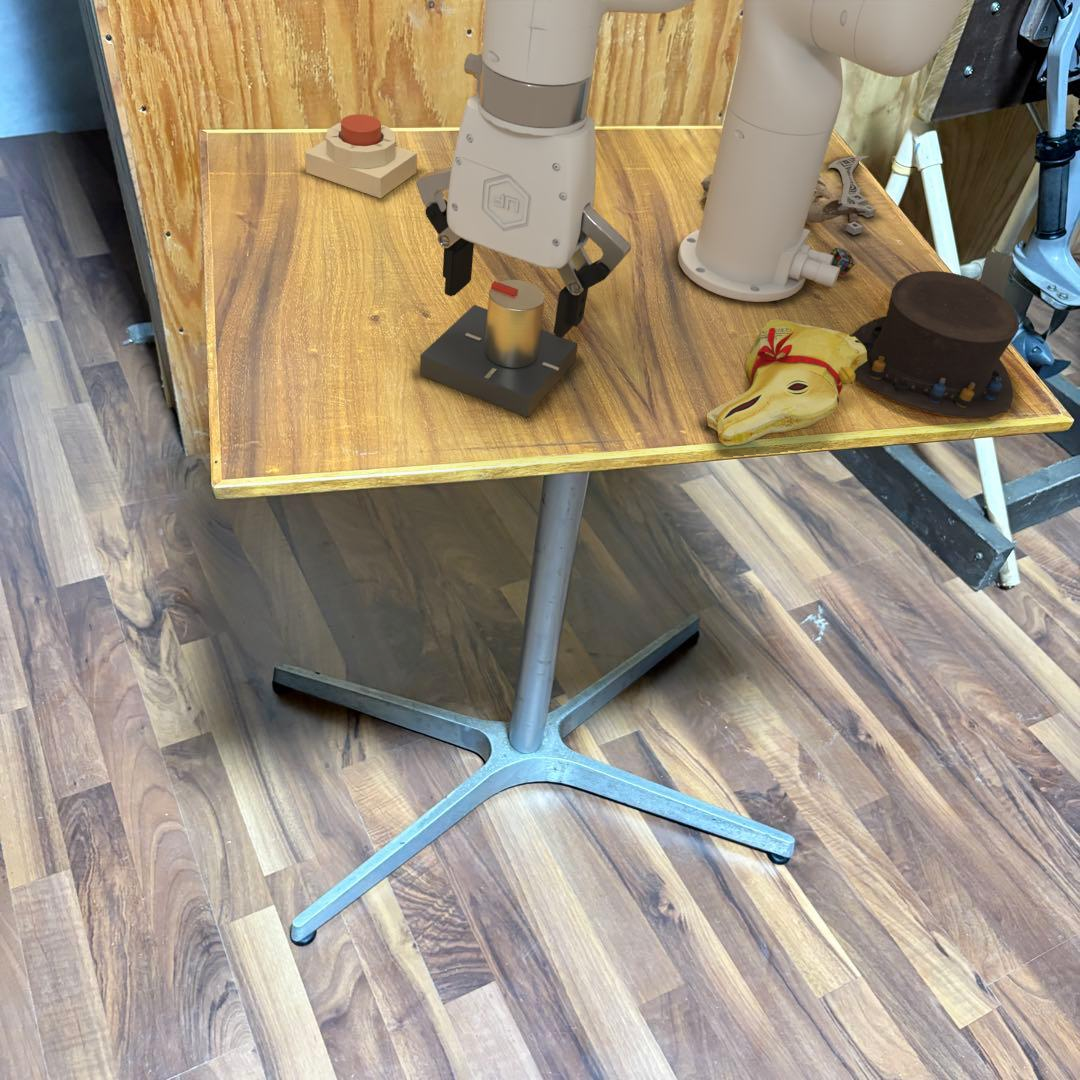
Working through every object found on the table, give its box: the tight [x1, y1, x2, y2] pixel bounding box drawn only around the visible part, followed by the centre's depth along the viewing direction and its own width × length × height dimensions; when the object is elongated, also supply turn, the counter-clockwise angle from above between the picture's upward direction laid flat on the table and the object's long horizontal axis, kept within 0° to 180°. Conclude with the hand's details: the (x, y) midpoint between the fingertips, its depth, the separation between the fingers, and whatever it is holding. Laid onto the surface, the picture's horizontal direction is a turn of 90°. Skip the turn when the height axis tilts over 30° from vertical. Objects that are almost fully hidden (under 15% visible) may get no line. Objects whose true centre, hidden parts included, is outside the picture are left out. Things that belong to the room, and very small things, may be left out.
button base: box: [304, 122, 418, 199], centre depth 110 cm, size 9×7×4 cm
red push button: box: [340, 113, 382, 146], centre depth 108 cm, size 4×4×2 cm
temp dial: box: [485, 279, 546, 368], centre depth 86 cm, size 4×4×6 cm
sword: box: [828, 155, 877, 236], centre depth 119 cm, size 20×1×5 cm
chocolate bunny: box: [706, 318, 867, 447], centre depth 86 cm, size 7×11×15 cm
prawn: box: [805, 179, 866, 278], centre depth 111 cm, size 25×12×7 cm, turn 12°
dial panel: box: [419, 304, 578, 418], centre depth 89 cm, size 10×9×2 cm
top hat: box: [851, 250, 1020, 419], centre depth 91 cm, size 15×15×10 cm
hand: (510, 308), depth 84 cm, fingers open, 9 cm apart
